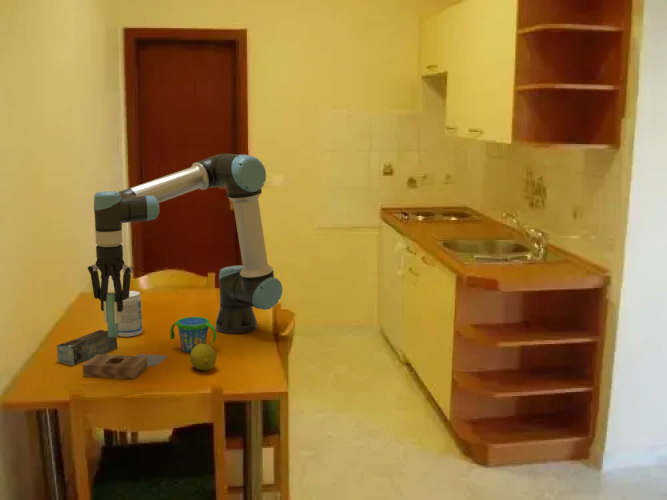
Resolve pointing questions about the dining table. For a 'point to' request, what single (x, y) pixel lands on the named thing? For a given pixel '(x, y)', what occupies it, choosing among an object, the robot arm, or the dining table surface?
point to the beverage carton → (86, 347)
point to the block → (115, 366)
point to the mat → (153, 359)
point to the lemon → (203, 357)
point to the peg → (111, 315)
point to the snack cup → (192, 332)
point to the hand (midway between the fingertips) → (112, 321)
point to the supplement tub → (131, 316)
